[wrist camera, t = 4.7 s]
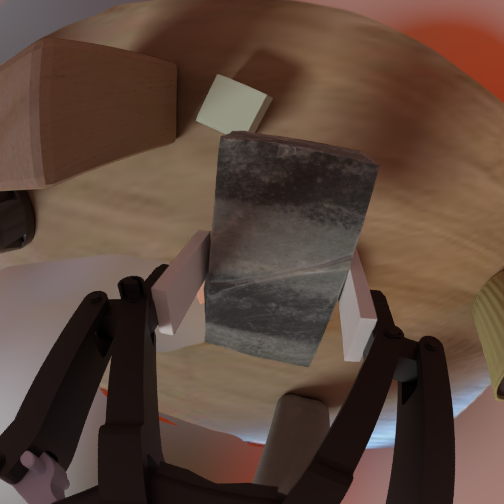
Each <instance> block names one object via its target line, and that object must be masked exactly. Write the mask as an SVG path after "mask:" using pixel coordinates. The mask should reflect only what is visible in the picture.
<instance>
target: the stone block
mask: <svg viewBox="0 0 504 504" xmlns="http://www.w3.org/2000/svg"><path fill="white" fill-rule="evenodd" d="M378 168H379V165H378V164H377V163H376V162H375V161H373V160H372V159H371V158H369V157H368V156H367V155H365V154H364V153H363V152H361V151H359V150H352V149H348V148H344V147H339V146H333V145H328V144H323V143H317V142H312V141H306V140H300V139H293V138H289V137H282V136H272V135H264V134H260V133H250V132H247V131H232V132H231V133H229V134H227V135H224V136H221V138H220V145H219V152H218V164H217V176H216V189H215V204H214V213H213V224H212V235H211V247H210V261H209V274H208V275H207V277H206V279H205V284H204V301H205V320H206V321H205V342H208V343H211V344H214V345H217V346H221V347H225V348H228V349H231V350H234V351H237V352H240V353H244V354H247V355H250V356H255V357H260V358H265V359H270V360H276V361H280V362H284V363H289V364H293V365H299V366H305V367H309V366H310V364H311V362H312V360H313V357H314V355H315V353H316V351H317V348H318V346H319V344H320V342H321V339H322V337H323V334H324V332H325V329H326V326H327V324H328V322H329V319H330V317H331V314H332V312H333V310H334V307H335V305H336V302H337V300H338V297H339V295H340V292H341V289H342V287H343V284H344V281H345V279H346V276H347V273H348V270H349V269H350V268H351V264H352V260H353V253H354V251H355V248H356V245H357V242H358V239H359V235H360V232H361V229H362V226H363V223H364V219H365V216H366V212H367V209H368V205H369V202H370V199H371V195H372V192H373V188H374V184H375V180H376V176H377V172H378Z"/></svg>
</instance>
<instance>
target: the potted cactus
mask: <svg viewBox="0 0 504 504" xmlns="http://www.w3.org/2000/svg"><path fill="white" fill-rule="evenodd" d="M472 317H473V321H474V324H475V327H476V329H477V332H478V335H479V339H480V342H481V345H482V348H483V351H484V355H485V358H486V362H487V366H488V370H489V374H490V378H491V382H492V387H493V391H494V398H495V399H496V400H497V401H500V402H502V401H504V271H501V272H499V273H498V274H496V275H495V276H493V277H492V278H491V279H490V280H489V281H488V282H487V283H486V284H485V285H484V286H483V288H482V289H481V290H480V292H479V294H478V295H477V297H476V300H475V302H474V305H473V310H472Z"/></svg>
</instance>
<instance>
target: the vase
mask: <svg viewBox="0 0 504 504" xmlns="http://www.w3.org/2000/svg"><path fill="white" fill-rule="evenodd" d="M329 429H330V420H329V410H328V408H327V406H326V405H325V404H324V403H322V402H320V401H318V400H314V399H308V398H304V397H301V396H297V395H285V396H282V397H281V398H280V399H279V400H278V403H277V406H276V409H275V413H274V417H273V421H272V424H271V428H270V431H269V434H268V438H267V441H266V444H265V447H264V451H263V454H262V456H261V459H260V462H259V465H258V468H257V471H256V474H255V477H254V480H253V484H260V485H268V486H277V487H278V492H281V493H283V494H287V493H288V491H289V490H290V489H291V487H292V486H293V485H294V483H295V482H296V481H297V479H298V478H299V476H300V475H301V474H302V472H303V471H304V469H305V468H306V466H307V465H308V463H309V462H310V460H311V458H312V457H313V455H314V454H315V452H316V451H317V449H318V447H319V446H320V444H321V442H322V441H323V439H324V437H325V436H326V434H327V432H328V431H329Z"/></svg>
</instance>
